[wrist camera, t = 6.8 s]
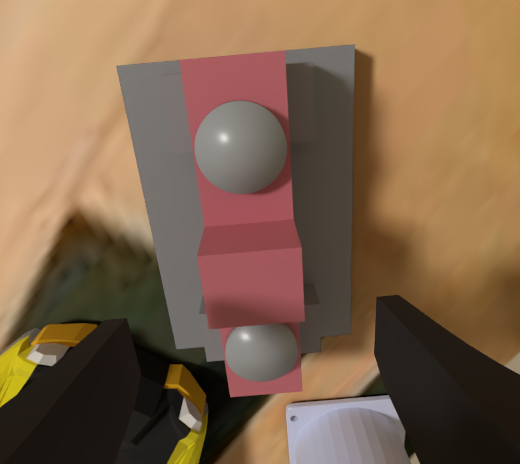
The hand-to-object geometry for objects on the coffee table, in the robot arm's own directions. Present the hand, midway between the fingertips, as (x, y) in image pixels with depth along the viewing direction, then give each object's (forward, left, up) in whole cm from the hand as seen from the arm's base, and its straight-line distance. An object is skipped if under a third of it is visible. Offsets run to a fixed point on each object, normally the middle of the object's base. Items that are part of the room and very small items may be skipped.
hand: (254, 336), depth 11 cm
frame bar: (0, 0, -7) cm, 7 cm away
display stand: (0, 0, -10) cm, 10 cm away
